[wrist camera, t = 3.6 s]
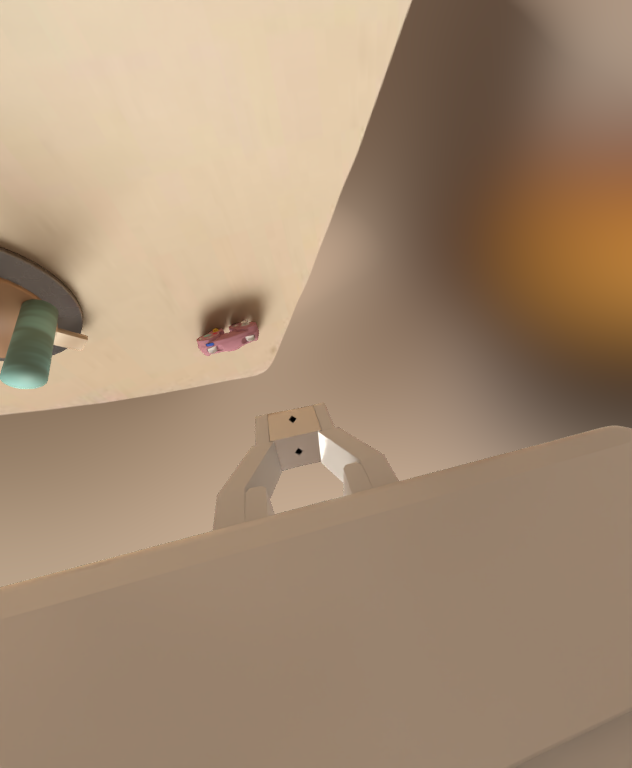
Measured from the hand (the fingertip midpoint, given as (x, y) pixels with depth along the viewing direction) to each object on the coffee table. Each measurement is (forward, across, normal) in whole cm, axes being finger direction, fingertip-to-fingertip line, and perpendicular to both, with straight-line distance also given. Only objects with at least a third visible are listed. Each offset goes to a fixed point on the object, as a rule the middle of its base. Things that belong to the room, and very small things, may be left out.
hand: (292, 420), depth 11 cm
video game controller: (+34, +8, +8) cm, 35 cm away
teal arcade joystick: (+23, +28, -1) cm, 36 cm away
